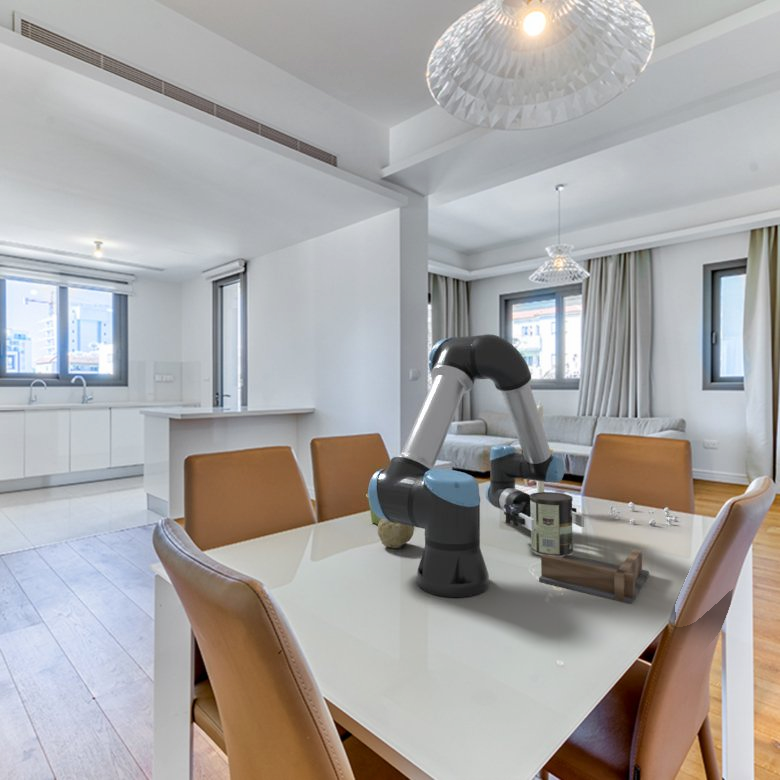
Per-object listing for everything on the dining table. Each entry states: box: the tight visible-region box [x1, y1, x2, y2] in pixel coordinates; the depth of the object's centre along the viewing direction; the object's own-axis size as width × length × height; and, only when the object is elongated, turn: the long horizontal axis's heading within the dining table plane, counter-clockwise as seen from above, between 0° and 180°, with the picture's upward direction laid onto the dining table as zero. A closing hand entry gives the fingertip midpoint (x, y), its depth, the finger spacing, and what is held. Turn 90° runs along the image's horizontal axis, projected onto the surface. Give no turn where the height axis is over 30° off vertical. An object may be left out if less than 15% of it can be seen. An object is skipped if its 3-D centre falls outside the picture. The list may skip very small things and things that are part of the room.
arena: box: [538, 548, 650, 605], centre depth 105 cm, size 18×18×5 cm
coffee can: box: [529, 491, 574, 558], centre depth 122 cm, size 10×10×14 cm
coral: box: [377, 519, 415, 549], centre depth 128 cm, size 10×10×10 cm
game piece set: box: [606, 501, 677, 526], centre depth 152 cm, size 19×20×4 cm
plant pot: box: [365, 493, 381, 525], centre depth 151 cm, size 9×9×9 cm
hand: (558, 523), depth 119 cm, fingers open, 13 cm apart
